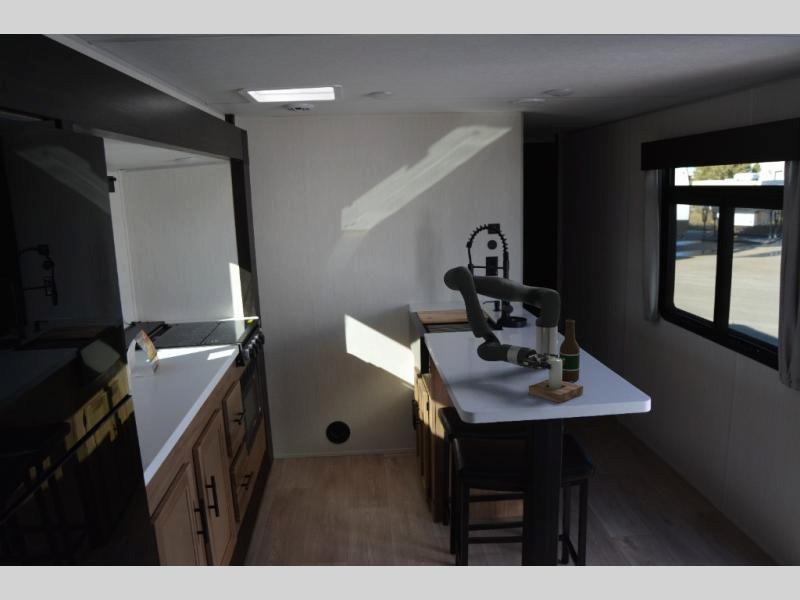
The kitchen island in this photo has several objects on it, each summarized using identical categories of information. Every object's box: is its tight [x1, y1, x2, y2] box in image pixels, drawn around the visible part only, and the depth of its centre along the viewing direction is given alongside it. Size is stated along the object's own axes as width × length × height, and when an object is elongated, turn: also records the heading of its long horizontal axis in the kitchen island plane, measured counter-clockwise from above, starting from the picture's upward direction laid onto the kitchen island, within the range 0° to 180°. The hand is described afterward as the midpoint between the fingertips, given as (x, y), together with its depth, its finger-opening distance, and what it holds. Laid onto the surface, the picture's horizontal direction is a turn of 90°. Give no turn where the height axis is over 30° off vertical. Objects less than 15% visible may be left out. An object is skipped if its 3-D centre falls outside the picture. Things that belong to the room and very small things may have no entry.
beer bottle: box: [558, 319, 581, 382], centre depth 242 cm, size 8×8×24 cm
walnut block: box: [528, 378, 584, 404], centre depth 226 cm, size 14×14×3 cm
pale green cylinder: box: [548, 357, 562, 390], centre depth 225 cm, size 5×5×13 cm
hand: (557, 364), depth 224 cm, fingers open, 8 cm apart
